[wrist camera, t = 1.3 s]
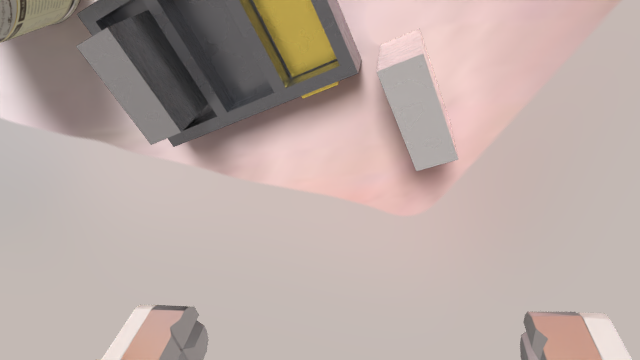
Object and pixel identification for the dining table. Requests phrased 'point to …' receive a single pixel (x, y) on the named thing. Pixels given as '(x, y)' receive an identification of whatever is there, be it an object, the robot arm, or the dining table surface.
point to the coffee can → (32, 15)
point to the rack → (214, 58)
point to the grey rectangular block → (416, 100)
